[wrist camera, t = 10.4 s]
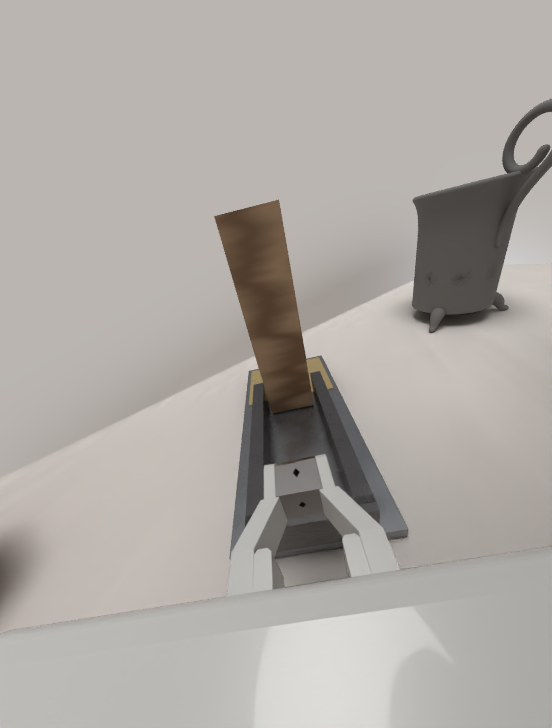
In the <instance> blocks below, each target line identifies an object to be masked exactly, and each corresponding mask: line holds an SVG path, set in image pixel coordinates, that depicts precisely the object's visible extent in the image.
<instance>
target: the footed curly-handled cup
mask: <svg viewBox="0 0 552 728" xmlns="http://www.w3.org/2000/svg"><path fill="white" fill-rule="evenodd" d="M546 112H552V99H549V100H547V101H545V102H543V103H541V104H539V105H537V106H536V107H534V108H533V109H532V110H530V111H529V112H528V113H527V114H526V115H525V116H524V117H523V118H522V119H521V120H520V121H519V123H518V124H517V125H516V126H515V128H514V129H513V131H512V132H511V134H510V136H509V138H508V140H507V142H506V144H505V148H504V151H503V160H502V161H503V167H504V169H505V171H506V172H507V173H508V174H504V175H500V176H496V177H492V178H488V179H484V180H480V181H476V182H472V183H468V184H464V185H460V186H457V187H452V188H448V189H445V190H441V191H437V192H433V193H429V194H425V195H421V196H418V197H415V198H414V199H413V203H414V204H415V206H416V209H417V214H418V242H417V253H416V265H415V277H414V289H413V301H412V306H413V307H414V308H415V309H417V310H419V311H422V312H426V313H431V315H430V328H429V332H434V331H435V330H436V328H437V326H438V324H439V323H440V321H441V320H442V319H443V317H444V316H445V314H465V313H472V312H477V311H481V310H484V309H486V308H488V307H490V306H491V305H492V304H493V305H494V306H495V307H496V308H497V309H499V310H507V309H508V306H507V305H504V298H503V296H502V295H501V294H499V293H497V292H496V290H497V287H498V283H499V279H500V275H501V271H502V267H503V263H504V259H505V255H506V251H507V247H508V243H509V240H510V235H511V232H512V228H513V224H514V220H515V217H516V213H517V210H518V207H519V205H520V204H521V202H522V201H523V199H524V198H525V197H526V195H527V194H528V193H529V191H530V190H531V189H532V188H533V186H534V185H535V184H536V183H537V182H538V181H539V179H540V178H541V177H542V176H543V175H544V174H545V173H546V172H547V170H549V168H550V167H551V166H552V151H551V152H550V154H549V155H548V156H547V158H546V159H545V160H544V161H543V162H542V160H543V159H544V158H545V157H546V155H547V153H548V152H549V150H550V145H543V146H541V147H540V148H539V150H538V151H537V153H536V154H535V156H534V157H533V159H531V160H530V162H528V163H527V164H525V165H521V166H520V165H517V164H516V162H515V160H514V148H515V145H516V142H517V140H518V138H519V136H520V134H521V133H522V131H523V130H524V128H525V127H526V126H527V125H528V124H529V123H530V122H531V121H532V120H533V119H535V118H536V117H538V116H539V115H541V114H543V113H546ZM541 162H542V164H541V165H540V166H539V167H537V166H538V165H539V164H540V163H541Z"/></svg>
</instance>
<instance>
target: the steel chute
mask: <svg viewBox="0 0 552 728" xmlns="http://www.w3.org/2000/svg"><path fill="white" fill-rule="evenodd" d="M306 362H307V367H308V373H309V379H310V385H311V391H312V397H313V403H314V405H312V406H307V407H302V408H298V409H293V410H288V411H283V412H278V413H273V414H272V412H271V408H270V405H269V401H268V398H267V394H266V391H265V388H264V384H263V381H262V377H261V374H260V371H259V369H256V370H252V371H249V375H248V385H247V395H246V404H245V414H244V424H243V433H242V443H241V453H240V462H239V472H238V482H237V491H236V501H235V511H234V520H233V530H232V540H231V549H230V560H231V552H232V551H233V549H234V547H235V545H236V543H237V542H238V540H239V538H240V536H241V534H242V533H243V531H244V529H245V527H246V525H247V524H248V522H249V520H250V518H251V517H252V515H253V513H254V511H255V509H256V508H257V506H258V504H259V502H260V500H263V499H264V465H269V464H275V463H281V462H287V461H293V460H296V459H301V458H306V457H311V456H318V455H323V454H325V455H326V457H327V460H328V463H329V467H330V470H331V474H332V477H333V480H334V484H335V487H336V486H339V487H340V488H341V489H342V490H343V491H344V492H345V493H346V494H347V495H349V496H350V497H351V498H352V499H353V500H354V501H355V502H356V503H357V504H358V505H359V506H360V507H361V508H362V509H363V510H365V511H366V512H367V513H368V514H369V515H370V516H371V517H372V518H373V519H374V520H375V521H376V522H377V523H378V524H379V525H381V526H382V527H383V529H384V531H385V534H386V536H387V539H388V540H389V539H395V538H401V537H407V535H408V527H407V525H406V523H405V521H404V519H403V517H402V515H401V513H400V511H399V509H398V508H397V506H396V504H395V502H394V500H393V498H392V496H391V494H390V492H389V490H388V488H387V486H386V484H385V482H384V480H383V478H382V476H381V474H380V472H379V470H378V468H377V466H376V464H375V462H374V460H373V458H372V456H371V454H370V452H369V450H368V448H367V446H366V444H365V442H364V440H363V438H362V436H361V434H360V432H359V430H358V428H357V426H356V424H355V422H354V420H353V418H352V416H351V414H350V412H349V410H348V408H347V406H346V404H345V402H344V400H343V398H342V396H341V394H340V392H339V390H338V388H337V386H336V384H335V382H334V380H333V378H332V376H331V374H330V372H329V370H328V368H327V366H326V364H325V362H324V360H323V358H322V356H317V357H312V358H308V359H306ZM342 539H343V537H342V536H341V534H340V533H339V532H338V531H337V529H336V528H335V527H334V526H333V524H332V523H331V522H330V521H329V519H328V518H327V517H326V516H325V514H324V513H322V514H315V515H308V516H302V517H298V518H293V519H288V522H287V524H286V527H285V530H284V533H283V535H282V538H281V541H280V543H279V546H278V549H277V551H276V554H275V557H274V558H279V557H285V556H291V555H297V554H303V553H309V552H315V551H322V550H328V549H334V548H340V547H343V543H342Z"/></svg>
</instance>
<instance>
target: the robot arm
mask: <svg viewBox="0 0 552 728" xmlns="http://www.w3.org/2000/svg"><path fill="white" fill-rule="evenodd" d="M322 513H324V514H325V516H326V517H327V518H328V519H329V521H330V522H331V523H332V524H333V526H334V527H335V528H336V529H337V531H338V532H339V533H340V534H341V536H342V537H343V539H342V543H343V549H344V556H345V563H346V569H347V573H348V577H349V578H343V579H336V580H330V581H323V582H317V583H310V584H304V585H297V586H291V587H284V577H283V575H282V573H281V570H280V568H279V566H278V564H277V562H276V560H275V558H274V557H275V554H276V551H277V549H278V546H279V543H280V541H281V538H282V535H283V533H284V530H285V527H286V524H287V522H288V519H293V518H298V517H302V516H308V515H315V514H322ZM0 728H552V546H549V547H543V548H536V549H530V550H523V551H517V552H510V553H504V554H497V555H491V556H485V557H478V558H472V559H465V560H459V561H452V562H446V563H439V564H433V565H426V566H420V567H414V568H407V569H401V570H400V567H399V565H398V563H397V560H396V558H395V555H394V553H393V551H392V548H391V546H390V543H389V541H388V539H387V536H386V534H385V531H384V529H383V527H382V526H381V525H379V524H378V523H377V522H376V521H375V520H374V519H373V518H372V517H371V516H370V515H369V514H368V513H367V512H366V511H365V510H363V509H362V508H361V507H360V506H359V505H358V504H357V503H356V502H355V501H354V500H353V499H352V498H351V497H350V496H349V495H347V494H346V493H345V492H344V491H343V490H342V489H341V488H340V487H339V486H336V487H335V484H334V480H333V477H332V474H331V470H330V467H329V463H328V460H327V457H326V455H325V454H323V455H318V456H311V457H306V458H301V459H296V460H293V461H287V462H281V463H275V464H269V465H264V499H263V500H260V502H259V504H258V506H257V508H256V509H255V511H254V513H253V515H252V517H251V518H250V520H249V522H248V524H247V525H246V527H245V529H244V531H243V533H242V534H241V536H240V538H239V540H238V542H237V543H236V545H235V547H234V549H233V551H232V552H231V561H230V570H229V580H228V589H227V596H226V597H220V598H214V599H207V600H201V601H194V602H188V603H181V604H175V605H169V606H162V607H156V608H149V609H143V610H136V611H130V612H123V613H117V614H111V615H104V616H98V617H91V618H85V619H78V620H72V621H66V622H59V623H53V624H47V625H40V626H34V627H27V628H20V629H14V630H9V631H6V632H4V633H2V634H0Z"/></svg>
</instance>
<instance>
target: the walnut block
mask: <svg viewBox="0 0 552 728" xmlns="http://www.w3.org/2000/svg"><path fill="white" fill-rule="evenodd" d="M215 220H216V224H217V227H218V230H219V233H220V237H221V240H222V244H223V247H224V251H225V254H226V257H227V261H228V265H229V268H230V271H231V274H232V278H233V281H234V285H235V288H236V292H237V295H238V299H239V302H240V305H241V309H242V312H243V316H244V319H245V322H246V326H247V329H248V333H249V336H250V340H251V343H252V347H253V350H254V353H255V357H256V360H257V364H258V367H259V371H260V374H261V377H262V381H263V384H264V388H265V391H266V394H267V398H268V401H269V405H270V408H271V412H272V414H273V413H278V412H283V411H288V410H293V409H298V408H302V407H307V406H312V405H314V403H313V397H312V391H311V385H310V379H309V373H308V367H307V362H306V356H305V350H304V344H303V338H302V332H301V327H300V321H299V315H298V309H297V303H296V297H295V291H294V286H293V280H292V274H291V268H290V263H289V257H288V251H287V244H286V238H285V233H284V227H283V221H282V215H281V209H280V203H279V200H276V201H272V202H269V203H265V204H260V205H257V206H253V207H249V208H245V209H241V210H237V211H233V212H229V213H225V214H221V215H217V216H215Z"/></svg>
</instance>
